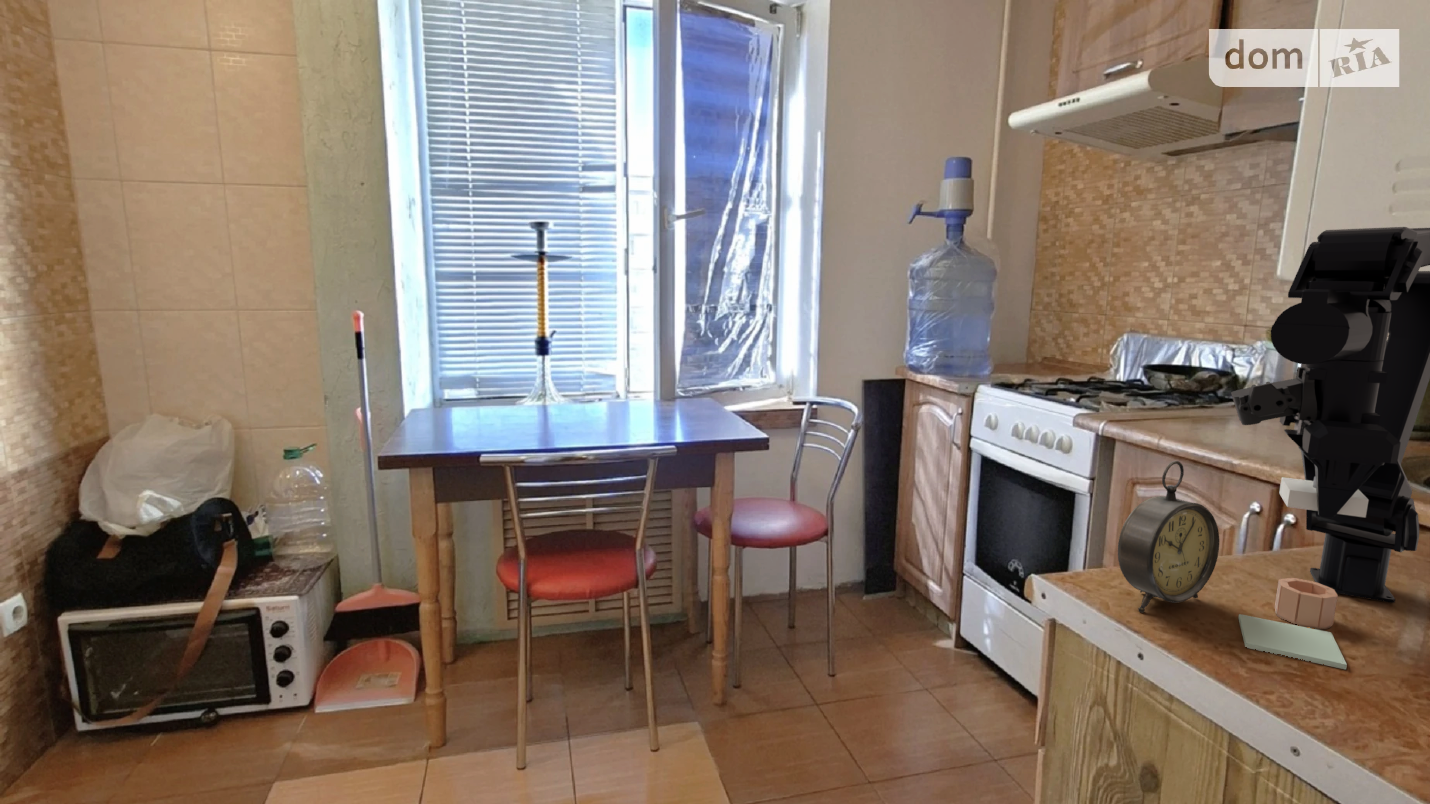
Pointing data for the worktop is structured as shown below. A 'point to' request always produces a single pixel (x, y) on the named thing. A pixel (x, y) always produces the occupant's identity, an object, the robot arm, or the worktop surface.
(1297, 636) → the mat
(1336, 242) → the robot arm
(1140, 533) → the alarm clock
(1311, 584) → the bowl
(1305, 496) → the cover
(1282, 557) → the worktop surface
